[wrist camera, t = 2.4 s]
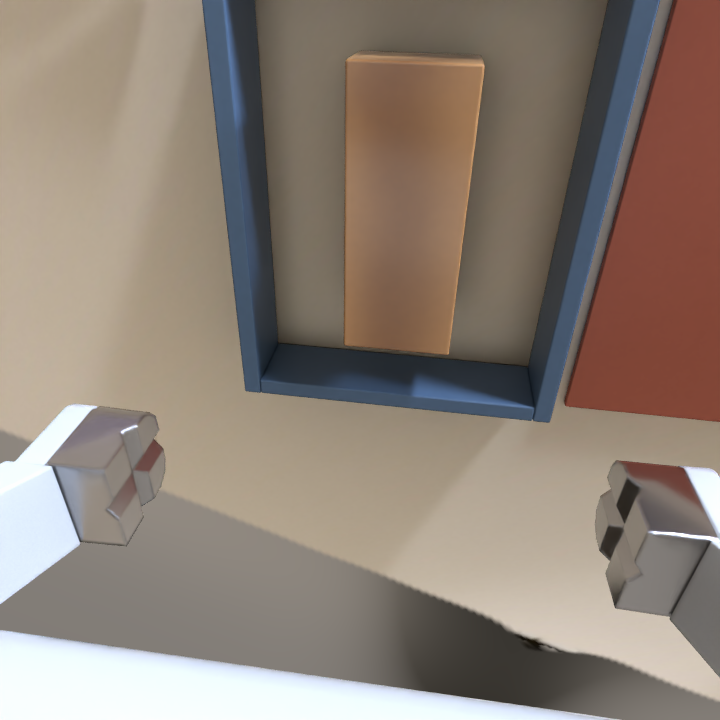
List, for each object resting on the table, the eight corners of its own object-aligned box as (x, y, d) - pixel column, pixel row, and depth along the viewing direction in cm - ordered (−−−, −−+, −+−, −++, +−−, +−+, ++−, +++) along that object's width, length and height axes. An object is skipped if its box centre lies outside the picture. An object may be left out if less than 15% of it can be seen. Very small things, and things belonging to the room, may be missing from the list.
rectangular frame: (648, -72, 19) (682, -82, 16) (541, 380, 29) (549, 423, 27) (228, -78, 21) (191, -88, 18) (264, 353, 31) (244, 391, 28)
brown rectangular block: (480, 50, 22) (485, 64, 18) (449, 306, 28) (448, 356, 24) (363, 46, 22) (344, 58, 19) (358, 298, 28) (343, 346, 25)
